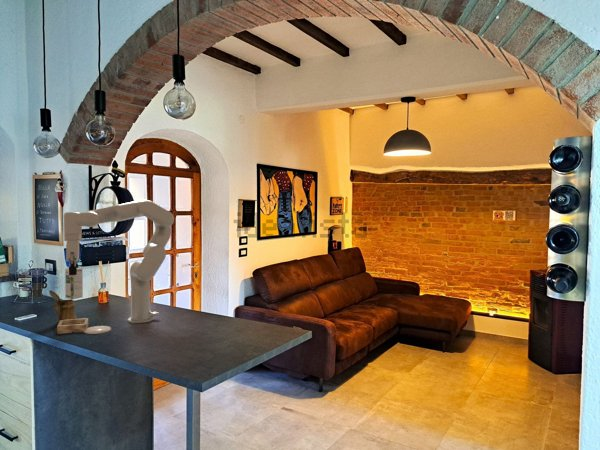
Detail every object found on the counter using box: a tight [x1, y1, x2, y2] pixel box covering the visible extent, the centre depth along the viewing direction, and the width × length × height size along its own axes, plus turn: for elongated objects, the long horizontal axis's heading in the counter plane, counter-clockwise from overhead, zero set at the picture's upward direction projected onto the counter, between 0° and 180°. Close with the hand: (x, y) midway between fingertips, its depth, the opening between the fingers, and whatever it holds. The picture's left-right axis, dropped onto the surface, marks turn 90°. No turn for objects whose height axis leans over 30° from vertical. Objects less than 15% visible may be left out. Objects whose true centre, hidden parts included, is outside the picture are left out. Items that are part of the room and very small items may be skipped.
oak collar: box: [56, 317, 89, 335], centre depth 212 cm, size 12×12×4 cm
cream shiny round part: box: [83, 325, 112, 335], centre depth 211 cm, size 12×12×1 cm
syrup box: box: [64, 267, 84, 300], centre depth 211 cm, size 6×6×14 cm
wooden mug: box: [49, 289, 78, 325], centre depth 222 cm, size 9×14×18 cm, turn 149°
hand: (73, 273), depth 211 cm, fingers closed on syrup box, 8 cm apart
